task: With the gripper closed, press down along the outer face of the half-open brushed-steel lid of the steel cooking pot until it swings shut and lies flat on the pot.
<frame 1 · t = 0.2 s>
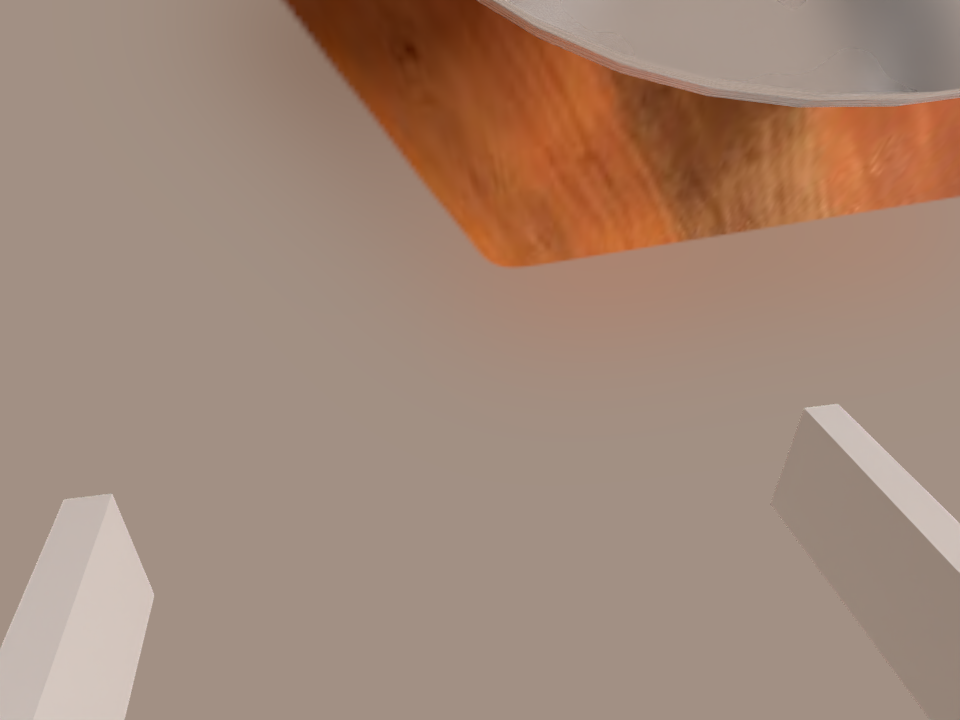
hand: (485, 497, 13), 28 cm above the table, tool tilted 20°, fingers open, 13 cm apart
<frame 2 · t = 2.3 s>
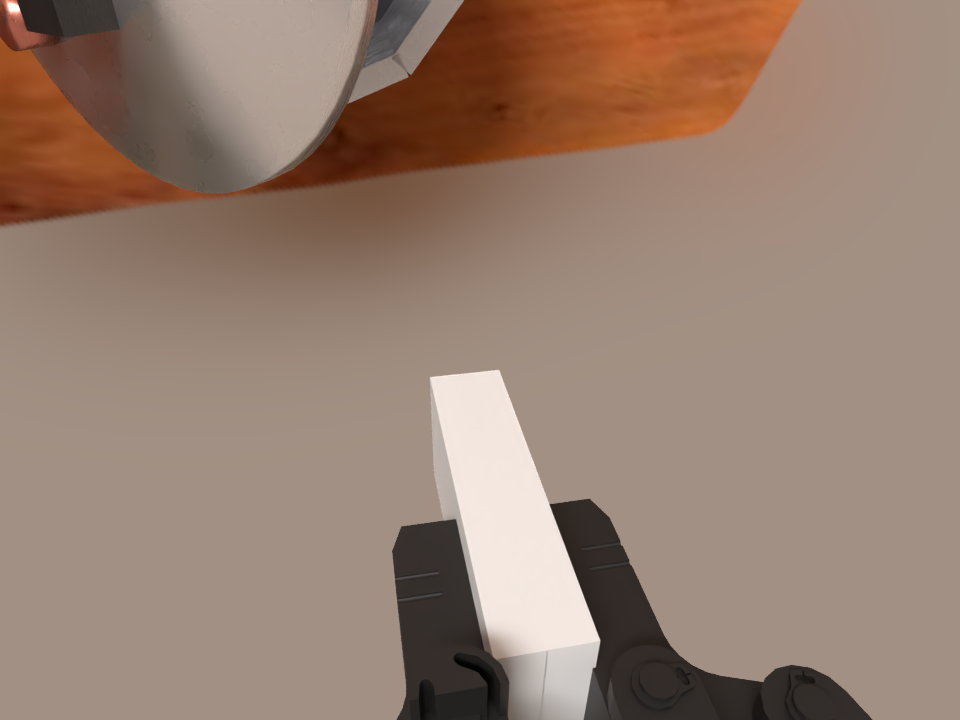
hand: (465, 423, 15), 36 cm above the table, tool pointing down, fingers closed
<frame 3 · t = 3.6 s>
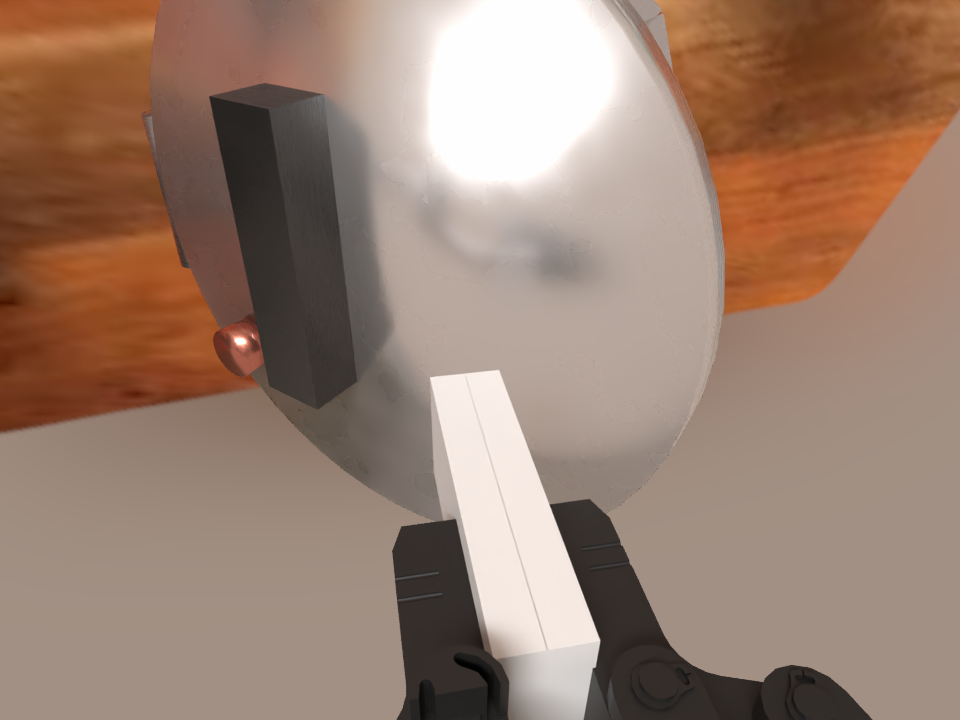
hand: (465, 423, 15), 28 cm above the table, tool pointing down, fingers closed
pot: (418, 101, 38), on the table
lid: (357, 269, 21), point 20 cm above the table, hinge at 45.0°
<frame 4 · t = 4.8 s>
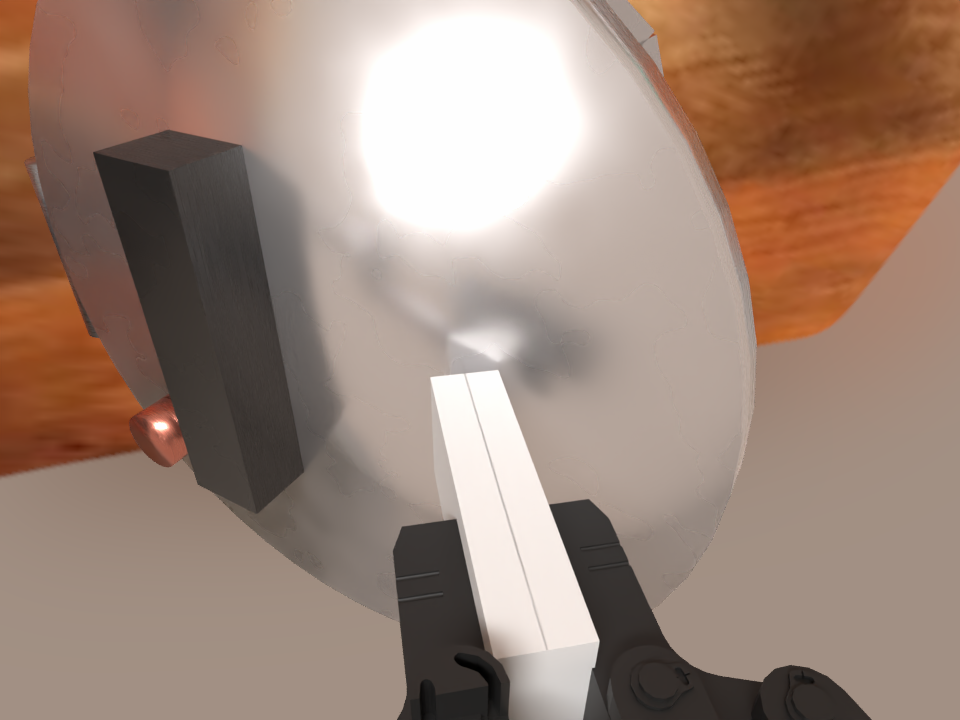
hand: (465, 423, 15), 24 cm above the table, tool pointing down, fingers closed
pot: (382, 127, 34), on the table
lid: (296, 351, 17), point 20 cm above the table, hinge at 40.8°, touching gripper
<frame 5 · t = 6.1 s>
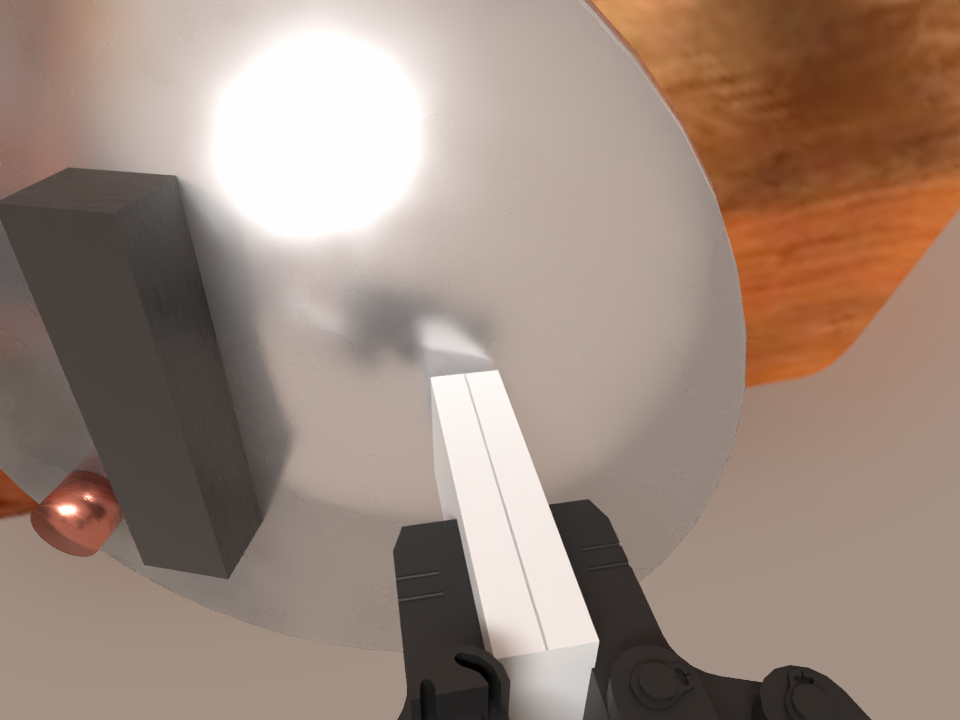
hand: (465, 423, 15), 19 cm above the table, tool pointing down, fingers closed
lid: (258, 393, 16), point 17 cm above the table, hinge at 21.8°, touching gripper
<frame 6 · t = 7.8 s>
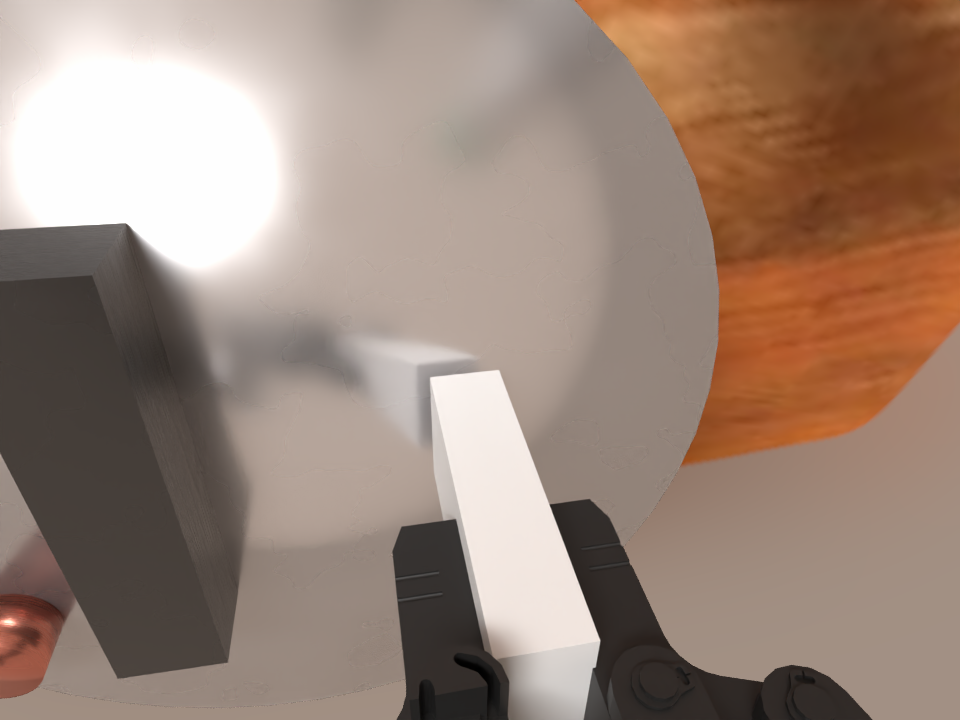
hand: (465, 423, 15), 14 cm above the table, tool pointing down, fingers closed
lid: (239, 449, 14), point 14 cm above the table, hinge at 1.1°
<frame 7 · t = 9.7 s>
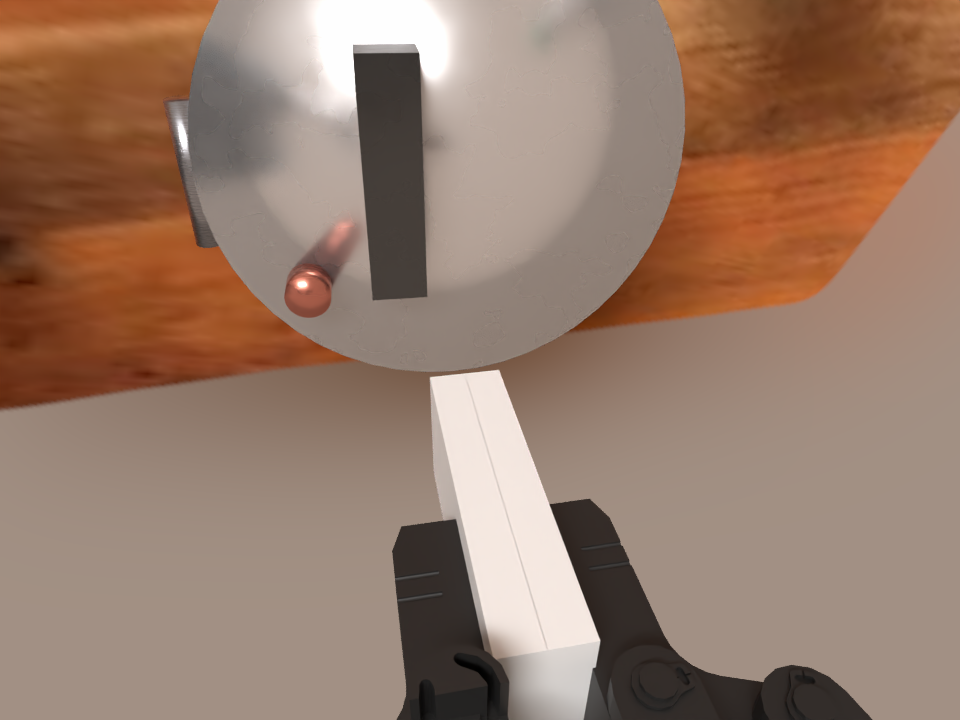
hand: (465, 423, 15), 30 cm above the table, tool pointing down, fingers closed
lid: (444, 173, 29), point 14 cm above the table, hinge at 0.0°
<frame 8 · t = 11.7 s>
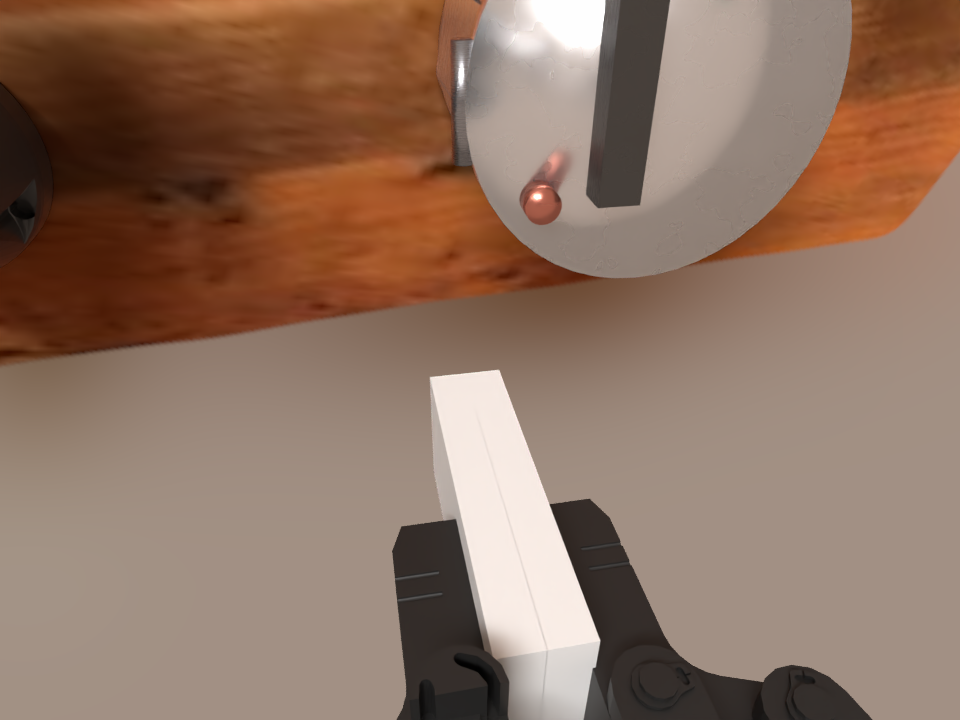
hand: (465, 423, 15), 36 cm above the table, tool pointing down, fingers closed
pot: (583, 51, 46), on the table
lid: (660, 100, 35), point 14 cm above the table, hinge at 0.0°
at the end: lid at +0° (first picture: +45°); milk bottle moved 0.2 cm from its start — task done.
